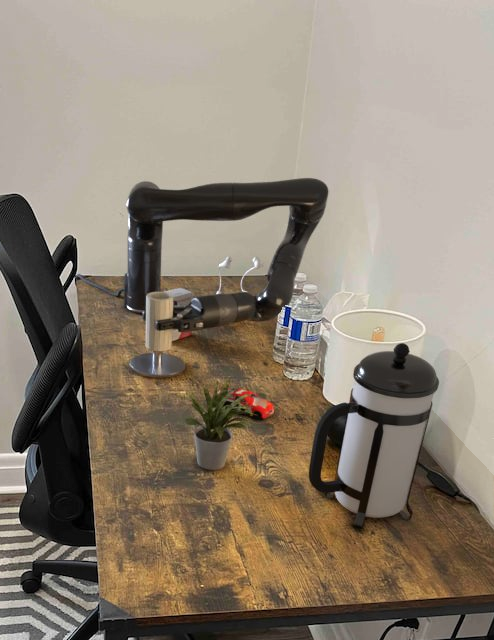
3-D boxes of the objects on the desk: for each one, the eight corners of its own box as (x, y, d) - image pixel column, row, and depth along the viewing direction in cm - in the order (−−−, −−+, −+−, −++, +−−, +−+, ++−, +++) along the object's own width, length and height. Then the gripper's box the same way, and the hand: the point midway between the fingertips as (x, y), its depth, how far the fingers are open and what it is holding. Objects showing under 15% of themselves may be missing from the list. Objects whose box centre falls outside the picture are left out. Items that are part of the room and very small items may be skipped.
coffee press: (334, 473, 136) (363, 317, 120) (421, 500, 129) (464, 339, 113) (299, 519, 123) (326, 352, 107) (393, 551, 116) (437, 378, 100)
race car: (277, 413, 155) (280, 396, 153) (266, 423, 152) (268, 406, 149) (223, 396, 161) (224, 380, 159) (210, 405, 157) (212, 388, 155)
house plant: (191, 493, 129) (196, 409, 120) (155, 456, 139) (158, 376, 130) (259, 475, 134) (269, 394, 126) (220, 440, 145) (227, 364, 136)
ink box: (179, 330, 194) (181, 286, 187) (192, 336, 190) (194, 291, 184) (153, 337, 189) (154, 292, 182) (166, 343, 186) (167, 298, 179)
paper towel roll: (140, 347, 170) (141, 296, 163) (154, 339, 174) (155, 289, 168) (162, 353, 167) (163, 302, 161) (176, 345, 172) (178, 295, 165)
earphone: (252, 278, 221) (266, 252, 203) (255, 331, 219) (270, 309, 201) (207, 278, 220) (218, 252, 202) (210, 331, 217) (221, 310, 200)
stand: (118, 368, 172) (118, 327, 166) (149, 351, 181) (150, 311, 176) (165, 383, 166) (167, 341, 161) (195, 364, 175) (197, 324, 170)
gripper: (228, 336, 170) (163, 347, 163) (197, 316, 180) (135, 326, 174) (230, 305, 166) (164, 315, 159) (199, 286, 176) (135, 295, 170)
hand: (149, 320), depth 166 cm, fingers closed on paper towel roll, 6 cm apart
